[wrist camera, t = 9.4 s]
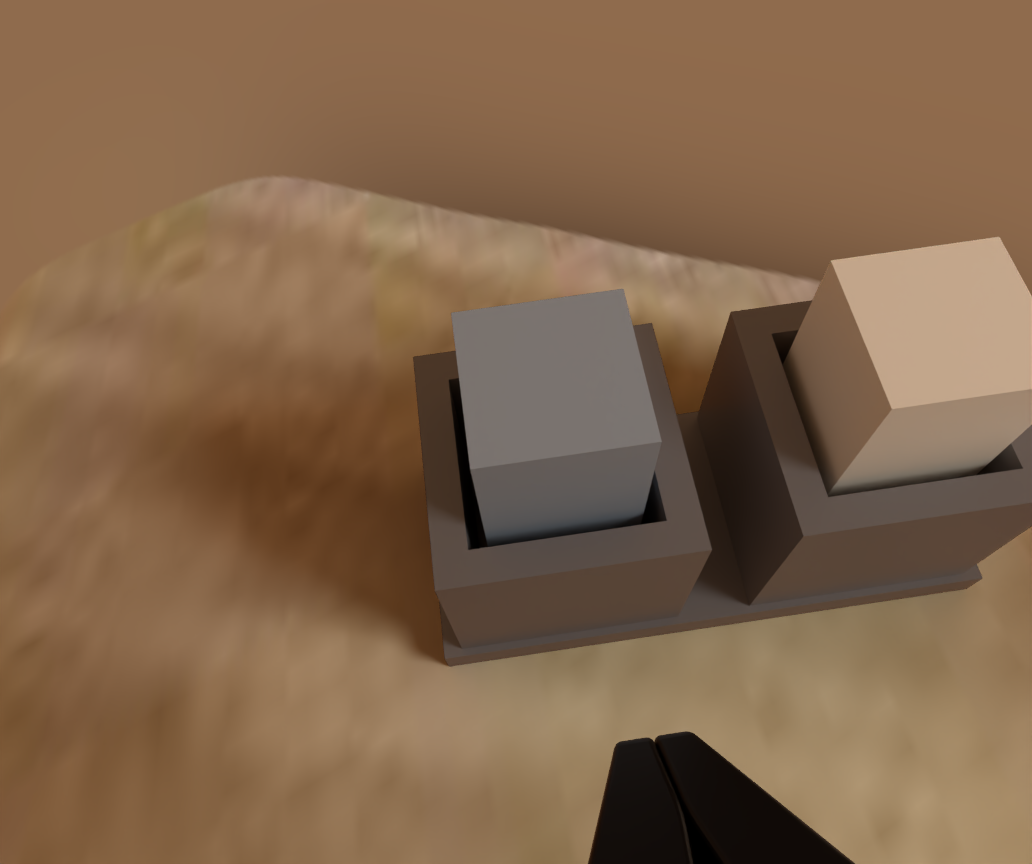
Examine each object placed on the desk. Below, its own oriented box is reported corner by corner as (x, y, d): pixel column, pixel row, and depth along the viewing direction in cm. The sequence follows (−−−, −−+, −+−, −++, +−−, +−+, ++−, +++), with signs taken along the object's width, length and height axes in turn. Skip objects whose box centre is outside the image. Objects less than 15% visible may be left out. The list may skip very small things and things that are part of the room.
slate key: (631, 562, 21) (661, 441, 15) (496, 582, 21) (470, 469, 15) (605, 441, 23) (623, 288, 17) (480, 459, 23) (451, 312, 17)
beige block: (927, 518, 21) (1078, 382, 15) (794, 538, 21) (891, 409, 15) (880, 402, 23) (999, 236, 17) (757, 420, 23) (830, 260, 17)
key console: (966, 588, 23) (1102, 501, 17) (449, 666, 23) (412, 603, 17) (887, 398, 26) (981, 269, 20) (429, 464, 26) (392, 352, 20)
